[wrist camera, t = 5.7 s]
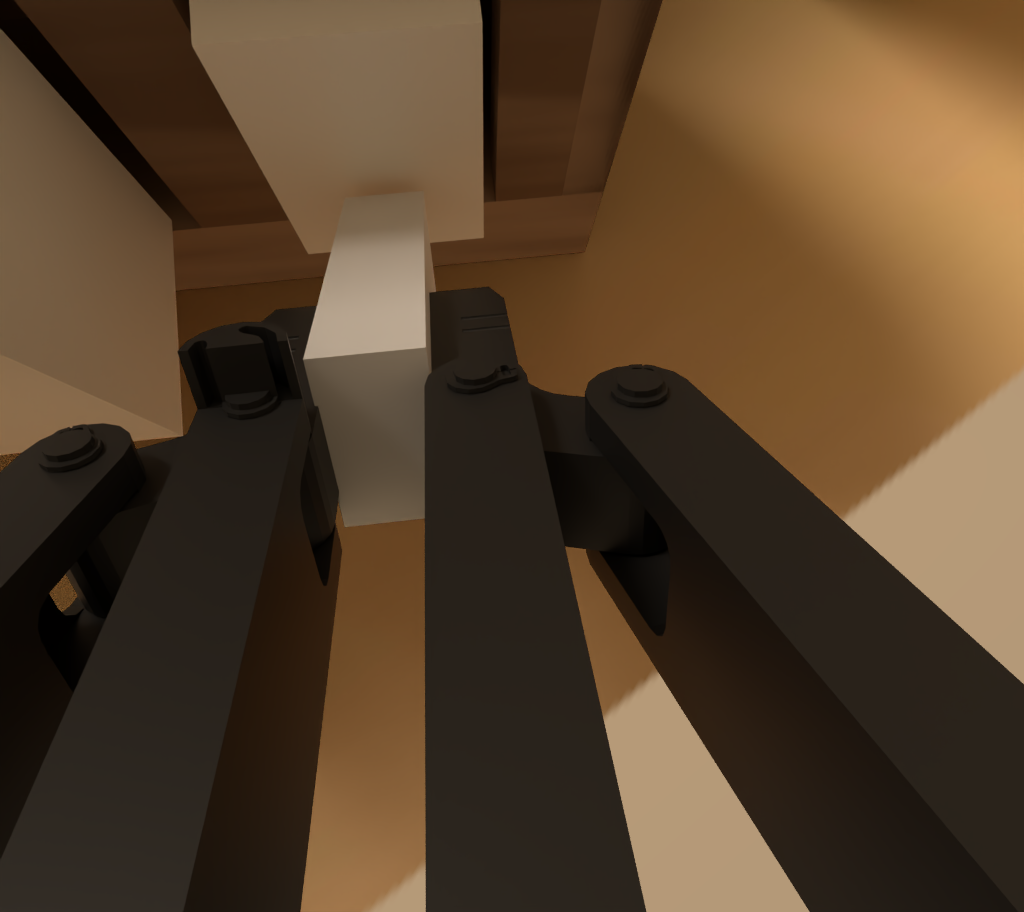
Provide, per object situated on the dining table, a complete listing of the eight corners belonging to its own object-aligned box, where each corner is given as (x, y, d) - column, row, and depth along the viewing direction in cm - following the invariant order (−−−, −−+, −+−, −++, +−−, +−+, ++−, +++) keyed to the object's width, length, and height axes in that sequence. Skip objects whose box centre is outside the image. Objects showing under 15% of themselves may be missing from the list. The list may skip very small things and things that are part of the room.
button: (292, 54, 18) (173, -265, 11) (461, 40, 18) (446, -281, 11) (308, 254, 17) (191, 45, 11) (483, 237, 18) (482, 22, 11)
